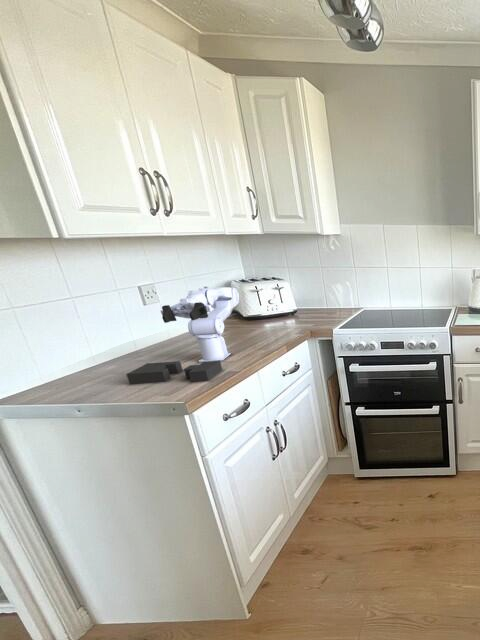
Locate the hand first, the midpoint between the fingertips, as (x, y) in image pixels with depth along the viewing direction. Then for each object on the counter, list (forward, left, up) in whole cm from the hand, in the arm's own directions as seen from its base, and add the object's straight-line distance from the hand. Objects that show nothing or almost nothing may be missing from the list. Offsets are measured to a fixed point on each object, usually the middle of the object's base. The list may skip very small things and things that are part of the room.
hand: (178, 318), depth 136 cm
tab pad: (+3, +4, -19) cm, 20 cm away
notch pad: (0, -11, -19) cm, 22 cm away
